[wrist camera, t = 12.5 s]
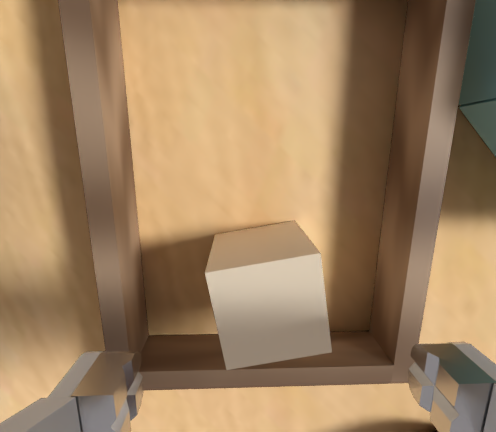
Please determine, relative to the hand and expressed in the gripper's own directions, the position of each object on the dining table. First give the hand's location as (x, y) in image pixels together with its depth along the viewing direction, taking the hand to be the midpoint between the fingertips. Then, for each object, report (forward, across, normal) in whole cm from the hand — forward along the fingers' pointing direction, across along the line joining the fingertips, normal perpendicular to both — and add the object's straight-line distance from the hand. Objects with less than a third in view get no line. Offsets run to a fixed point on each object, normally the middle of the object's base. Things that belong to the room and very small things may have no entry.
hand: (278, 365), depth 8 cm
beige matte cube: (+6, 0, -1) cm, 6 cm away
